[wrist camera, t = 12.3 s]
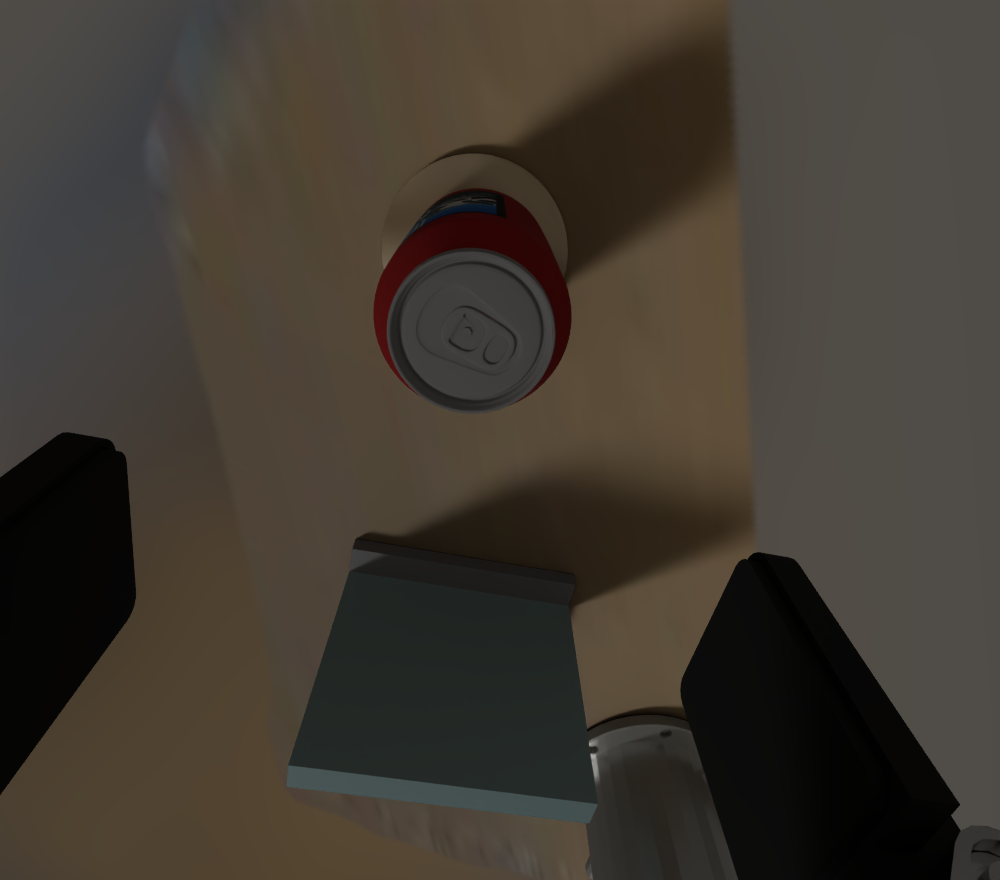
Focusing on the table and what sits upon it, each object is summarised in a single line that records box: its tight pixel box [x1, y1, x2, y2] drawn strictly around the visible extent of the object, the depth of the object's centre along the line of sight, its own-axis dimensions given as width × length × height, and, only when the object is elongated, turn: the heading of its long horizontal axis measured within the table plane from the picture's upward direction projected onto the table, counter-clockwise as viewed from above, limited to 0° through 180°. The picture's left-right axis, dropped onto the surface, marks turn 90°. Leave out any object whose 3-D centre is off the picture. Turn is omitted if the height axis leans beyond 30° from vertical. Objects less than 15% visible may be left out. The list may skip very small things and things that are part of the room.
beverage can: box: [374, 188, 571, 414], centre depth 25 cm, size 7×7×12 cm
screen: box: [286, 539, 598, 823], centre depth 35 cm, size 5×14×14 cm, turn 78°
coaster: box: [382, 153, 568, 278], centre depth 31 cm, size 9×9×1 cm
